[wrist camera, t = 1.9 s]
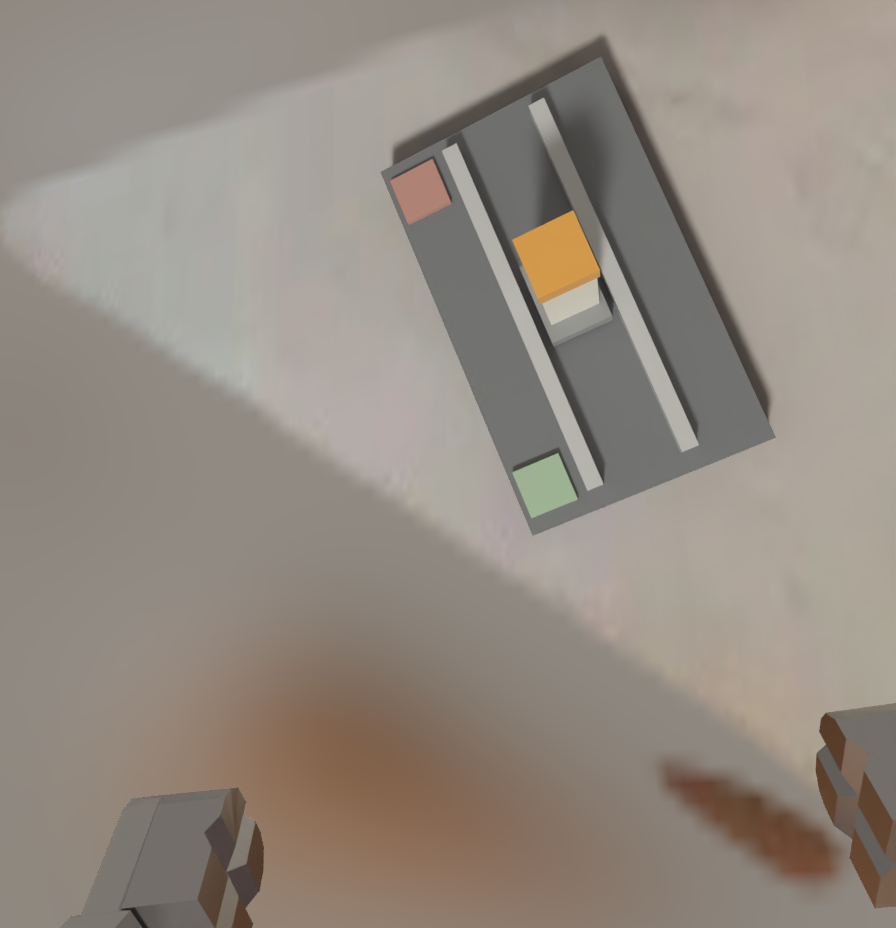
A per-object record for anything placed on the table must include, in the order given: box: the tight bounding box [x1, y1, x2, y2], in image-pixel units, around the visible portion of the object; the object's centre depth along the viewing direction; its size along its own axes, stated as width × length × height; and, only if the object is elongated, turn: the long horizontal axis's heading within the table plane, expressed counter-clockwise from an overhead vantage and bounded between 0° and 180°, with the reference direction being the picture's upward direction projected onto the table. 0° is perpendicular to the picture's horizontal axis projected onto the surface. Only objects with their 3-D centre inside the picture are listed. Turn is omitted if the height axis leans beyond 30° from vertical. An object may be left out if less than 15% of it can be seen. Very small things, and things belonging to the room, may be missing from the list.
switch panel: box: [381, 57, 776, 535], centre depth 37 cm, size 20×12×3 cm, turn 23°
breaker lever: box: [512, 210, 612, 347], centre depth 33 cm, size 4×3×7 cm
